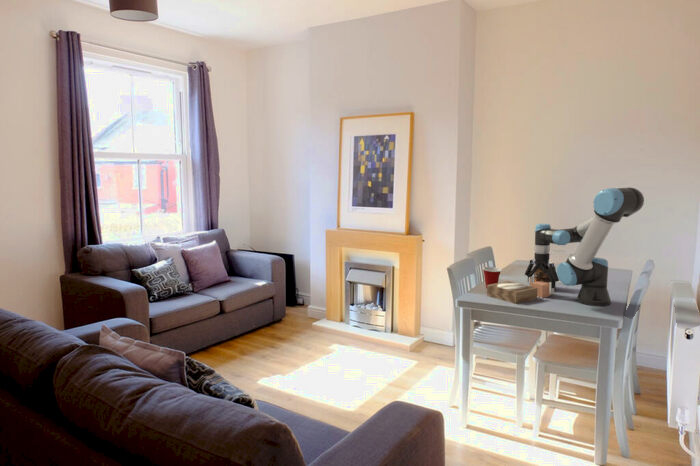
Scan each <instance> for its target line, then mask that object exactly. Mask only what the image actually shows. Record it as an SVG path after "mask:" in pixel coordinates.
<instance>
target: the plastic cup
mask: <svg viewBox="0 0 700 466" xmlns="http://www.w3.org/2000/svg"><path fill="white" fill-rule="evenodd" d="M482 271H483V277H484V282H485V283H484V284H485V288H486V290H487V285H490V284H495V283H499V279H500V275H501V273H502V271H503V270H502V269H501V268H499V267H495V266H484V267H482Z"/></svg>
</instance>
